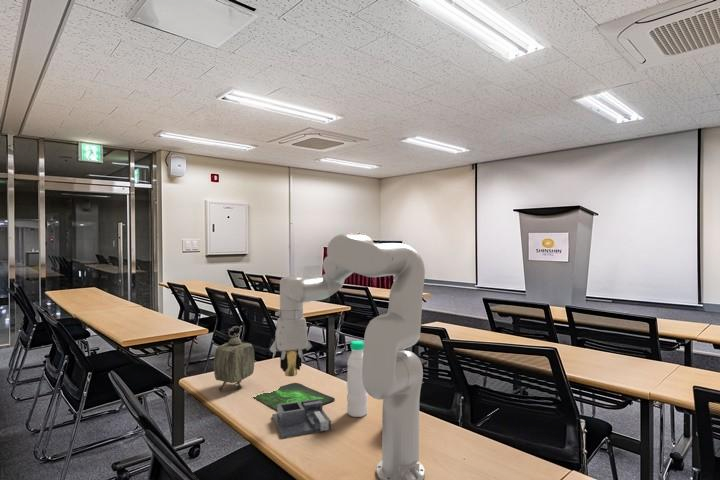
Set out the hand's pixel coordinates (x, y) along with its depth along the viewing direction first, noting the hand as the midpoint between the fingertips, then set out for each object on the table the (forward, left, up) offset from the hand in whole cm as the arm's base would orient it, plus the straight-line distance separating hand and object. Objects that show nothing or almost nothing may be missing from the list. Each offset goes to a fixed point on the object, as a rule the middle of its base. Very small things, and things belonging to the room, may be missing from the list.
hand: (290, 368), depth 137 cm
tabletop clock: (+40, +14, -18) cm, 46 cm away
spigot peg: (0, 0, -2) cm, 2 cm away
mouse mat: (+21, -5, -18) cm, 28 cm away
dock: (-2, -3, -18) cm, 18 cm away
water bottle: (-2, -23, -18) cm, 29 cm away
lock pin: (-7, -8, -17) cm, 20 cm away
